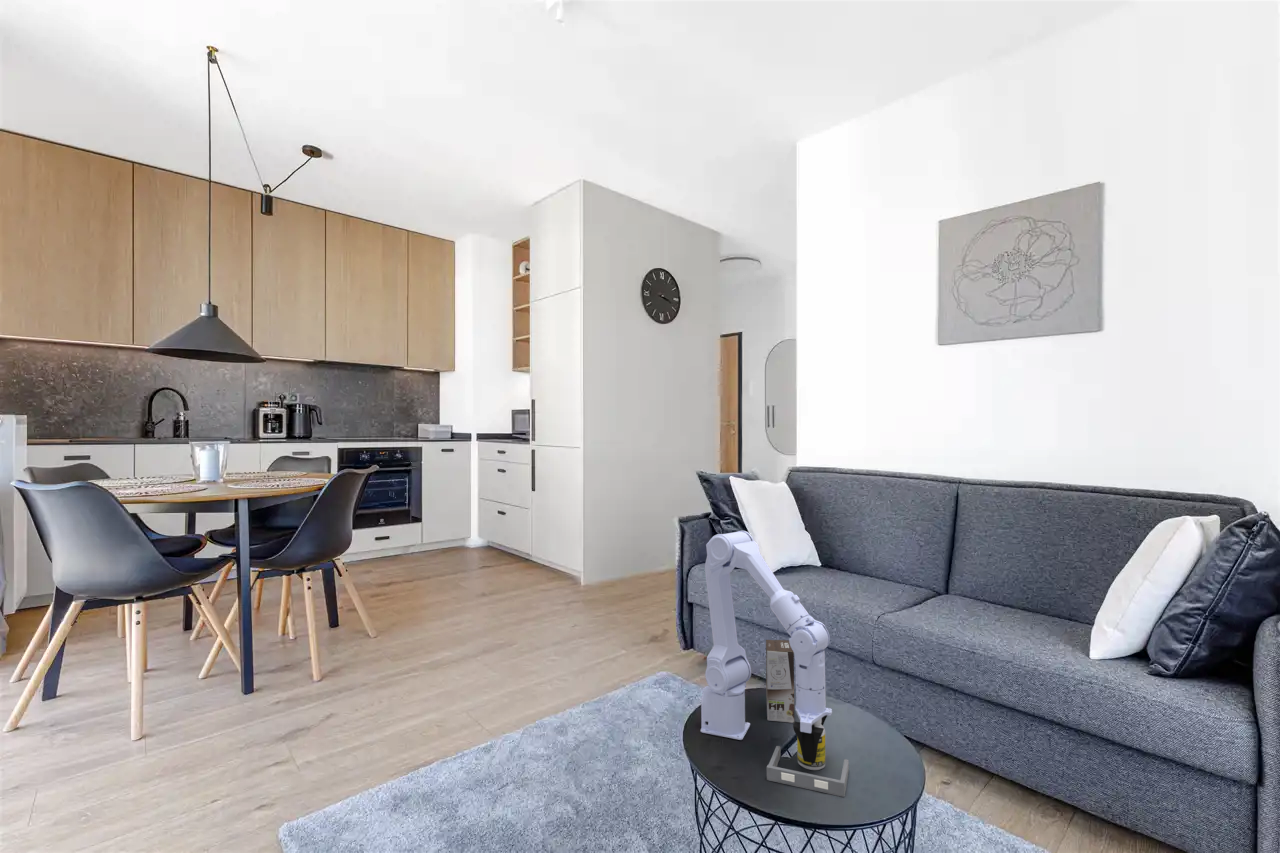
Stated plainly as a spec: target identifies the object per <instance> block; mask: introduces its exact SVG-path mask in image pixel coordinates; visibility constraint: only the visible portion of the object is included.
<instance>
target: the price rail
mask: <svg viewBox="0 0 1280 853" xmlns="http://www.w3.org/2000/svg"><path fill="white" fill-rule="evenodd" d="M781 752H782V751H781V746H780V745H776V746H775V749H774V751H773V753H772V756H771V758H770V760H769V762H768V764H767V766H766V781H770V782H773V783H774V782H775V783H779V784H783V785H788V786H792V787H798V788H801V789H807V790H811V791H815V792H820V793H824V794H828V795H834V796H837V797H842V798H845V796H846V789H847V783H848V778H849V772H850V763H849V762H850V761H849V759H846V758H844V759H843V764H842V770H841V775H840V779H836V778H832V777H825V776H821V775H816V774H812V773H807V772H802V771H798V770H793V769H789V768H784V767H783V768H782V767H779V766H778V764H779V761H780V759H781V755H782V754H781Z"/></svg>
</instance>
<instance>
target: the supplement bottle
mask: <svg viewBox="0 0 1280 853" xmlns="http://www.w3.org/2000/svg"><path fill="white" fill-rule="evenodd" d="M821 723H822V718H821V719H819V720H818V721H817V722H815V723H814V724H813V725H815V727H819V728H824V730H823V733H822V735H821V737H820V739H819V742H818V748H817V756H816V760H815V763H810V762H805V761H804V760H803V756H802V752H801V747H800V743H799V740H798V737H797V736H796V738H797V740H796V742H797V745H796V746H797V749H796V752H797V753H796V756H797V763H798V765H800V766H801V767H802V768H804V769H806V770H811V771H819V770H822V769H824V768H825V767H826V729H825V727H824V724H823V725H822V724H821Z"/></svg>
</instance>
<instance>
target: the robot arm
mask: <svg viewBox="0 0 1280 853" xmlns="http://www.w3.org/2000/svg"><path fill="white" fill-rule="evenodd" d="M705 546H706V559H705V563H704V574H705V582H706V588H707V590H706V592H707V600H708V601H707V602H708V607H709V618H710V625H711V632H712V641H713V646H712V648H711V650H710V651H709V653H708V654H707V657H706V663H707V664H706V669H705V672H704V674H705V680H706V681H705V682H706V684H707V685H705V686H704V688H703V690H702V693H701V701H700V704H701V705H700V706H701V708H700V709H701V715H700V716H701V718H700V719H701V721H700V722H701V728H700V733H703V734H708V735H712V736H717V737H724V738H729V739H733V740H739V741H742V740H744V738H745V736H746V734H747V733H748V730H749V729H750V727H751V723H750V722H748V721H747V722H746V693H745V692H746V688H747V682H748V681H749V680H750V679H751V676H752V667H751V664H750V663H749V662H750V661H749V660H748V657H747V653H746V649H744V647H742V646H741V645H740V644H739V642H738V635H737V625H736V616H735V609H734V601H733V592H732V586H731V584H732V582H731V576H730V574H731V572H733V570H734V569H735V568H736V569H737V568H738V569H742V570H745V571H747V573H748V574H750V576H751V577H752V578H753V579H754V581H755V582H756V583H757V584H758V585H759V586H760V588H761V590H763V591H764V593H765V594H766V595H767V597H768V598H769V599H770V601H769V608H770V610H771V612H773V613H774V614H773V615H775V617H776V618H777V619H778V621H779V622H780V623H781V625H782V626H783V628H784V629H785V631H786V632H787V634H788V635H789V636H790V638H788V640H789V643H790V646H791V648H792V650H793V652H794V663H795V704H794V712H795V714H796V715H797V717H798V720H799V721H795V720H794V723H792V730H793V732H794V733H795V735H796V738H797V737H798V740H799V743H800V747H801V752H802V756H803V760H804V761H805V762H810V763H815V760H816V756H817V748H818V742H819V739H820V737H821V735H822V733H823V730H824V728H825V727H824V728H819V727H815V725H813V724H814V723H815V722H817V721H818V720H819V719H821V718H822V723H821V724H822V725H823V726H824V724H825V721H826V719H827V718H828V717H829V716H832V714H833V709H832V708H830V707H826V704H827V702H826V655H825V654H826V652H825V649H826V648H827V647H828V646H829V644H830V642H831V640H830V639H831V637H830V633H829V630H828V629H827V627H826V625H825V624H824V623H823V622H821V621H819V620H817V619H814V617H813V616H812V615H810V613H808V611H807V610H806V608H805V607H804V605H803V604H802V603H801V602H800V600H801V599H800V597H799V595H797V594H795V593H793V591H790V590H786V589H785V588H783V586H782V585H781V583H780V582H779V580H778V579H777V577H776V576H775V573H774V572H773V571H772V570H771V568H770V566H769V565H768V563H767V562H766V560H765V559H764V557H763V555H762V554H761V552H760V547H759V546H760V545H759V544H758V543H757V541H755V540H754V537H753V536H752V535H751V534H750V532H748V531H746V530H738V531H734V532H728V533H718V534H715V535H713V536H712V537H711V538H710V539H709V541H708V542H707V543H706V544H705Z"/></svg>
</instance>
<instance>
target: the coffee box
mask: <svg viewBox="0 0 1280 853" xmlns="http://www.w3.org/2000/svg"><path fill="white" fill-rule="evenodd" d="M765 680H766V681H765V682H766V683H765V685H766V688H765V690H766V694H765V695H766V717H767V721H769V722H770V721H771V722H781V723H782V722H783V723H791V724H794V721H795V655H794V652H793V650H792V648H791V646H790V643H789V639H765Z"/></svg>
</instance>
